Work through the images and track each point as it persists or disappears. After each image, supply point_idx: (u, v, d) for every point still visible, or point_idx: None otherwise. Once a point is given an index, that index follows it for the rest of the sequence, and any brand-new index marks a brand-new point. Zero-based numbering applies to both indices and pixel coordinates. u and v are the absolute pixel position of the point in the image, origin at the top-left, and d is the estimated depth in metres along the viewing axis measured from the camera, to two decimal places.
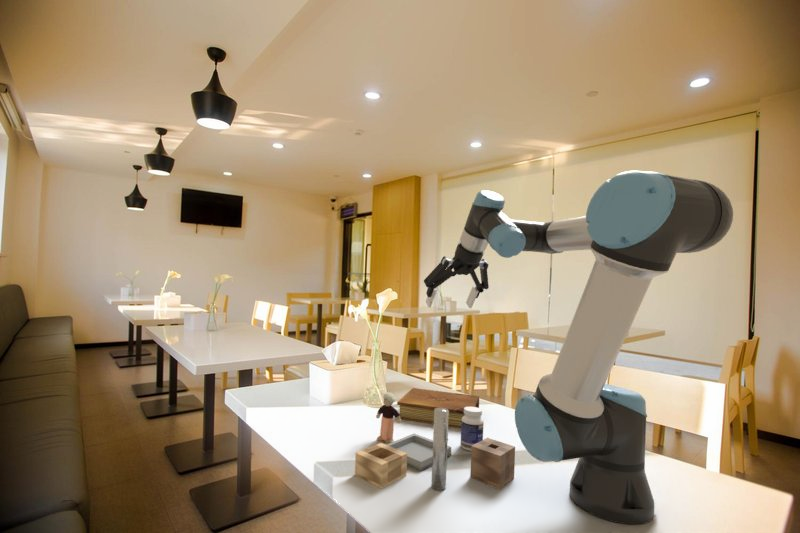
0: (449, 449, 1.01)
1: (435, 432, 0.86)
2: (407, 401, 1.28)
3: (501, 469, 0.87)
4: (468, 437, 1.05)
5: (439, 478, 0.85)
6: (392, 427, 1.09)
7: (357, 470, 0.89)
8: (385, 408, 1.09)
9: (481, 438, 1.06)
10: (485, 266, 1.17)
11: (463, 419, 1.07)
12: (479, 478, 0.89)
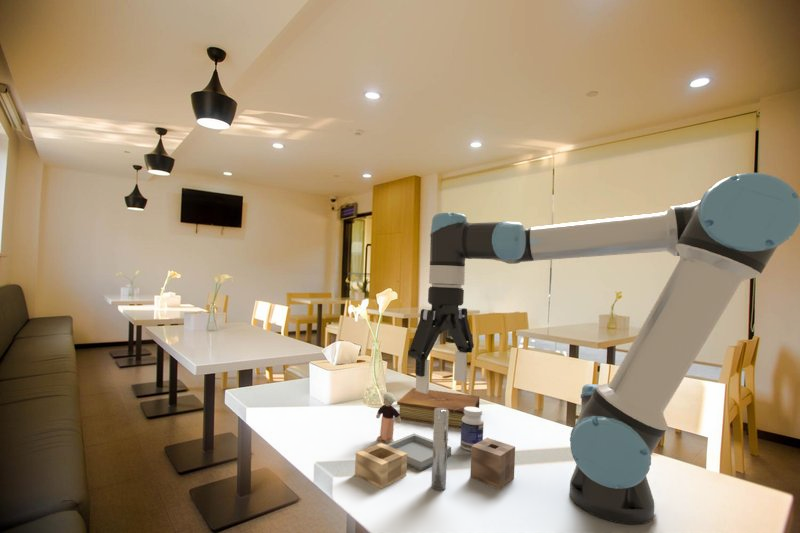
0: (449, 449, 1.01)
1: (435, 432, 0.86)
2: (407, 401, 1.28)
3: (501, 469, 0.87)
4: (468, 437, 1.05)
5: (439, 478, 0.85)
6: (392, 427, 1.09)
7: (357, 470, 0.89)
8: (385, 408, 1.09)
9: (481, 438, 1.06)
10: (465, 313, 0.91)
11: (463, 419, 1.07)
12: (479, 478, 0.89)
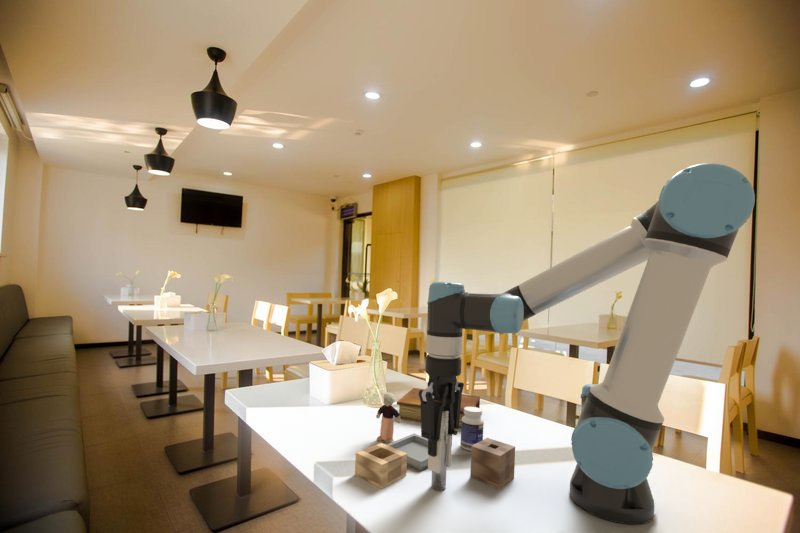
0: None
1: None
2: (406, 401, 1.28)
3: (501, 469, 0.87)
4: (468, 437, 1.05)
5: (439, 478, 0.85)
6: (392, 427, 1.09)
7: (357, 470, 0.89)
8: (385, 408, 1.09)
9: (481, 438, 1.06)
10: (461, 386, 0.90)
11: (463, 419, 1.07)
12: (479, 478, 0.89)
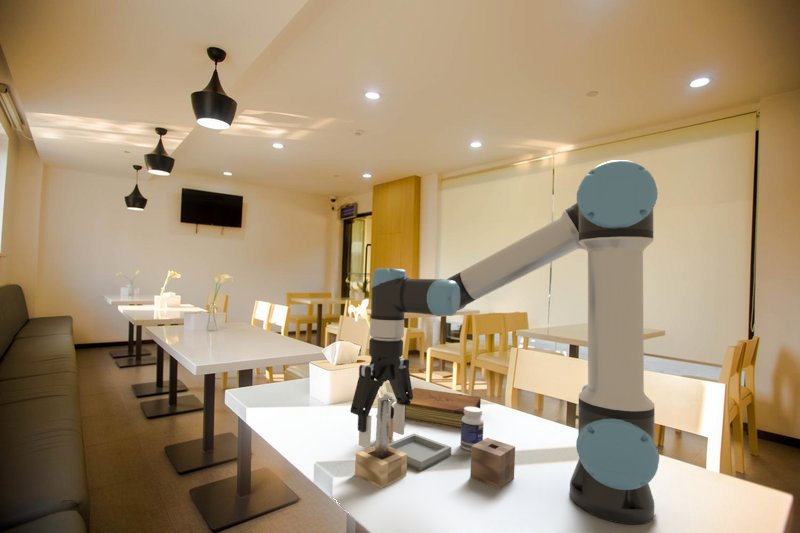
0: (449, 449, 1.01)
1: (378, 420, 0.90)
2: None
3: (501, 469, 0.87)
4: (468, 436, 1.05)
5: None
6: (392, 427, 1.09)
7: (357, 471, 0.89)
8: None
9: (481, 438, 1.06)
10: (406, 364, 0.95)
11: (463, 419, 1.07)
12: (479, 478, 0.89)
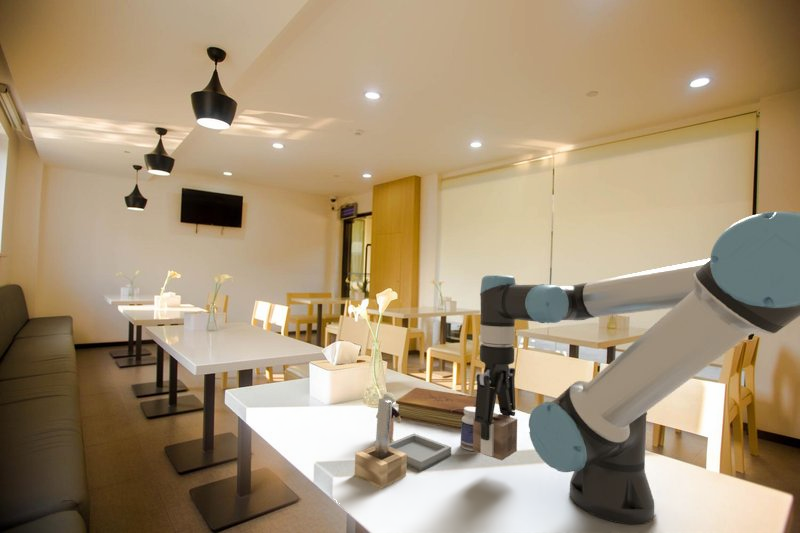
0: (449, 449, 1.01)
1: (378, 421, 0.89)
2: (406, 400, 1.29)
3: (503, 440, 0.87)
4: (468, 436, 1.05)
5: None
6: (392, 427, 1.09)
7: (357, 471, 0.89)
8: None
9: None
10: (513, 372, 0.95)
11: (463, 419, 1.07)
12: None
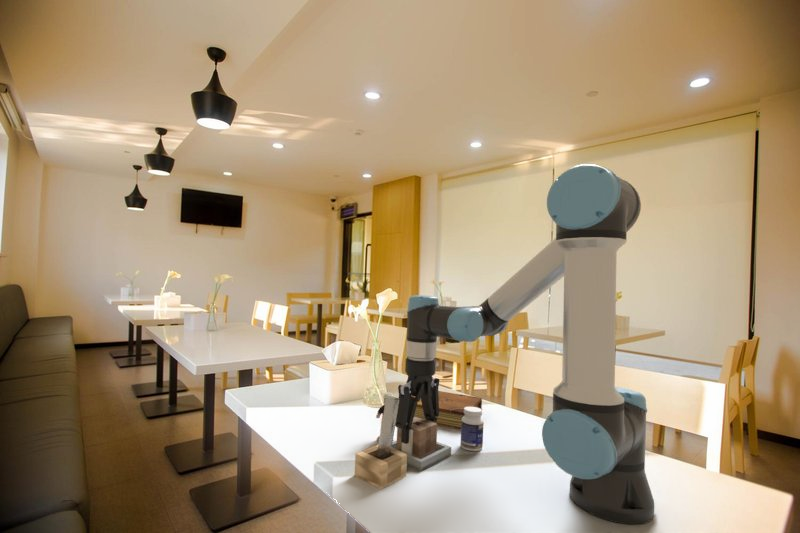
0: (449, 449, 1.01)
1: (383, 418, 0.91)
2: None
3: (421, 442, 0.97)
4: (468, 437, 1.05)
5: None
6: None
7: (357, 471, 0.89)
8: None
9: (481, 438, 1.06)
10: (437, 382, 1.06)
11: (463, 419, 1.07)
12: None
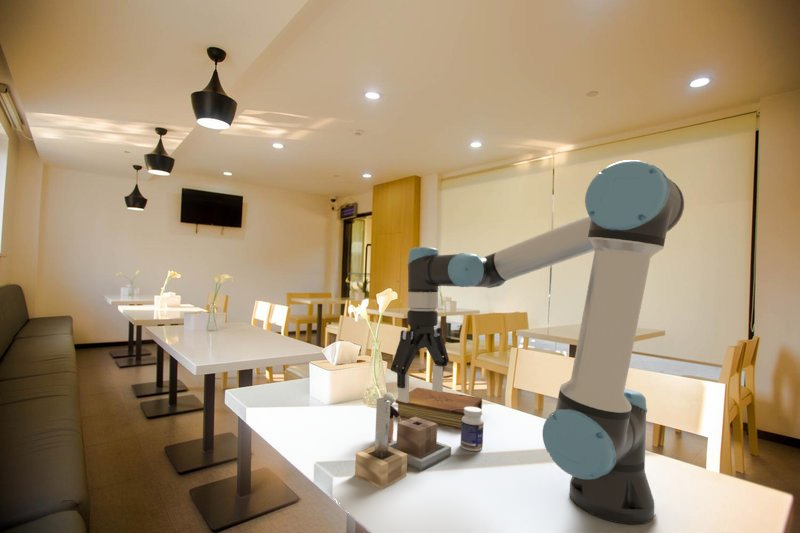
0: (449, 449, 1.01)
1: (376, 421, 0.89)
2: None
3: (421, 442, 0.97)
4: (468, 437, 1.05)
5: None
6: (392, 427, 1.09)
7: (357, 471, 0.89)
8: None
9: (481, 438, 1.06)
10: (440, 331, 1.06)
11: (463, 419, 1.07)
12: (403, 451, 1.00)
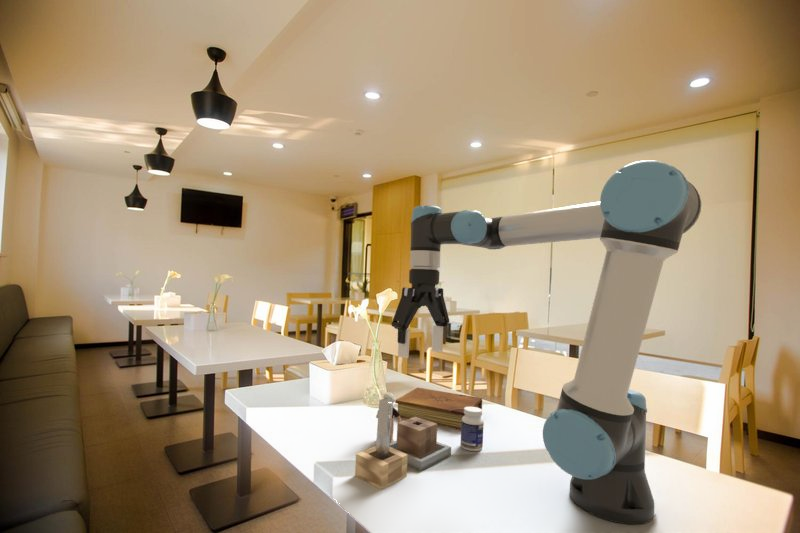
0: (449, 449, 1.01)
1: (378, 422, 0.89)
2: (405, 400, 1.29)
3: (421, 442, 0.97)
4: (468, 436, 1.05)
5: None
6: (392, 427, 1.09)
7: (357, 471, 0.89)
8: None
9: (481, 438, 1.06)
10: (441, 292, 1.06)
11: (463, 419, 1.07)
12: (403, 451, 1.00)
